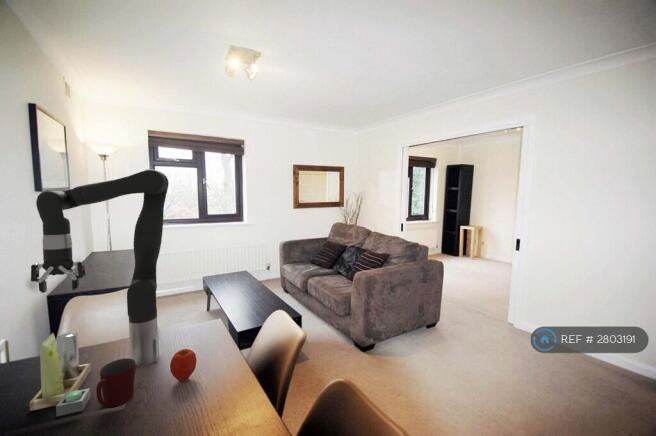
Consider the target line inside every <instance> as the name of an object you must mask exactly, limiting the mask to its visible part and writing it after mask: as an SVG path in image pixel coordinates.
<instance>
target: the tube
mask: <svg viewBox="0 0 656 436" xmlns="http://www.w3.org/2000/svg"><path fill="white" fill-rule="evenodd" d="M39 355H40V358H39V360H40V363H39V364H40V385H41V387H40V390H41V389H42V398H47V397H52V396H56V395H61V394H64V387H63V379H62V372H61V365H60V359H59V354H58V349H57V339H56V336H55V334H54V332H52V333H51V334H50V335H49V336H48V337H47V338H45V340H44V341H43V342H42V343H41V346H40V354H39Z"/></svg>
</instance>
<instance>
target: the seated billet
mask: <svg viewBox="0 0 656 436" xmlns="http://www.w3.org/2000/svg"><path fill="white" fill-rule="evenodd" d="M78 339H79V337H78V332H77V331H71V332H65V333H62V334H59V335H58V336H57V337H56V344H57V349H58V354H59V359H60V365H61V372H62V379H63V380H67V379H72V378H77V377H79V365H80V363H79V362H80V361H79V359H80V358H79V342H78V341H79V340H78Z"/></svg>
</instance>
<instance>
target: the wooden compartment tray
mask: <svg viewBox="0 0 656 436" xmlns="http://www.w3.org/2000/svg"><path fill="white" fill-rule="evenodd" d="M91 371H92V364H91V363H90V362H89V363H86V364H79V377H77V378H72V379H67V380H63V387H64V394H65V393H69V392H73V391H76V390H80V388H81V386H82V384H83V383H84V381H85V380H86V378H87V377H88V375H89V373H90V372H91ZM64 394H61V395H56V396H52V397H47V398H42V389H41V388H40V390H39V391H38V392H37V393H36V394H35V396H33V398H32V399H31V400H30V401H29V411H30V412H31V411H35V410H40V409H45V408H51V407H56V406H57V404H58V403H59V402H60V400H61V399H62V397H63V396H64Z"/></svg>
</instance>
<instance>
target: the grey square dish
mask: <svg viewBox="0 0 656 436" xmlns="http://www.w3.org/2000/svg"><path fill="white" fill-rule="evenodd" d="M80 390H81V391H82V397H81V399H80V400H76V401H71V402H67V403H66V395H67V394H69V393H70V392H69V393H65V394H64V396H63V397H62V399H61V400H60V402H59V403H58V404H57V405H55V411H56V416H55V417H60V418H59V420H61V419H63V417H61V416H65V415H69V414H73V413H74V415H72V417H74V416H76V414H75V413H78V412H83V411H84V410H85V407H86V406H87V404H88V402H89V401H90V399H91V387H89V388H85V389H80ZM82 414H83V413H81V415H82ZM78 415H80V413H79V414H77V416H78ZM69 417H71V416H70V415H69V416H68V418H69ZM66 418H67V416H66V417H64V419H66Z"/></svg>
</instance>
